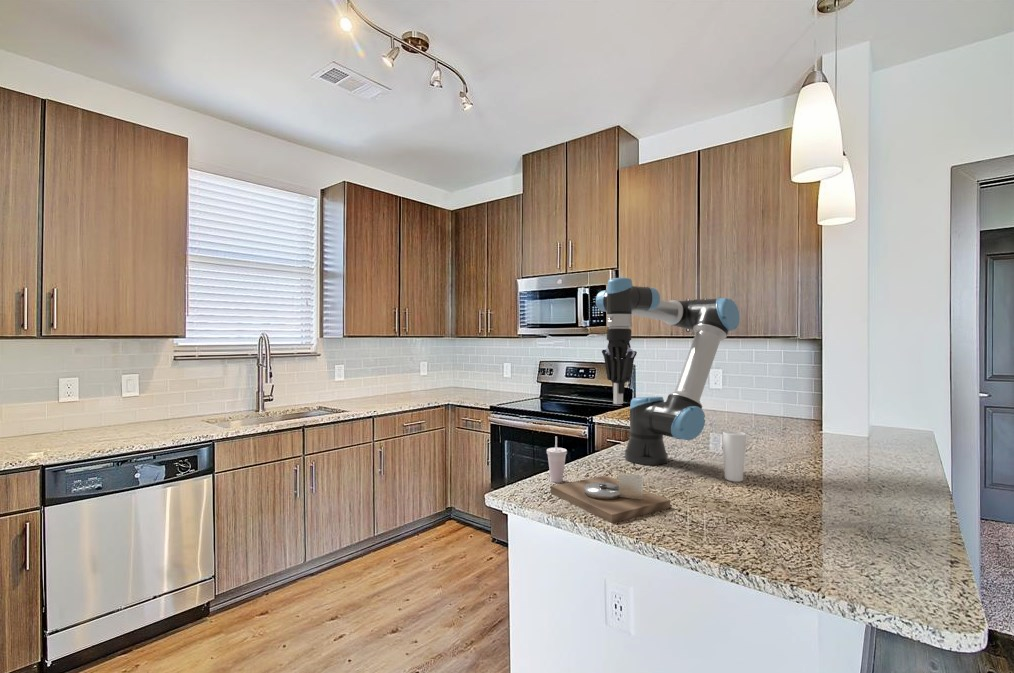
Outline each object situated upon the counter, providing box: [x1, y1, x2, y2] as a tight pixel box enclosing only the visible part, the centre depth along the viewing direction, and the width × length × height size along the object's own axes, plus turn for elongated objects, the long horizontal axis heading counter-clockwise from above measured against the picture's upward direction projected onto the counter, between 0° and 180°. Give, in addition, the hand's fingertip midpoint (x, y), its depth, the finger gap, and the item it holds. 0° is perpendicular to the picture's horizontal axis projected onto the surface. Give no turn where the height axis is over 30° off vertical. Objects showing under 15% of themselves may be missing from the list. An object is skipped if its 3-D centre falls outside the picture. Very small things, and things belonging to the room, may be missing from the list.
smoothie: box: [546, 436, 568, 484], centre depth 150 cm, size 6×6×14 cm
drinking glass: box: [722, 430, 747, 483], centre depth 153 cm, size 7×7×15 cm
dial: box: [584, 472, 644, 500], centre depth 131 cm, size 16×10×6 cm, turn 66°
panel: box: [550, 475, 671, 524], centre depth 133 cm, size 21×25×2 cm
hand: (618, 403), depth 149 cm, fingers closed
